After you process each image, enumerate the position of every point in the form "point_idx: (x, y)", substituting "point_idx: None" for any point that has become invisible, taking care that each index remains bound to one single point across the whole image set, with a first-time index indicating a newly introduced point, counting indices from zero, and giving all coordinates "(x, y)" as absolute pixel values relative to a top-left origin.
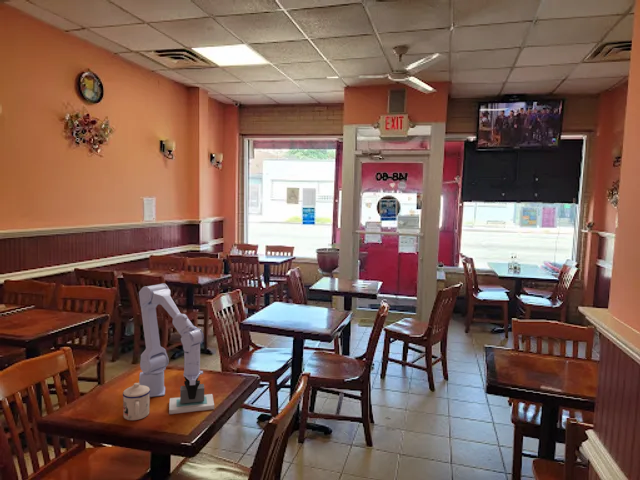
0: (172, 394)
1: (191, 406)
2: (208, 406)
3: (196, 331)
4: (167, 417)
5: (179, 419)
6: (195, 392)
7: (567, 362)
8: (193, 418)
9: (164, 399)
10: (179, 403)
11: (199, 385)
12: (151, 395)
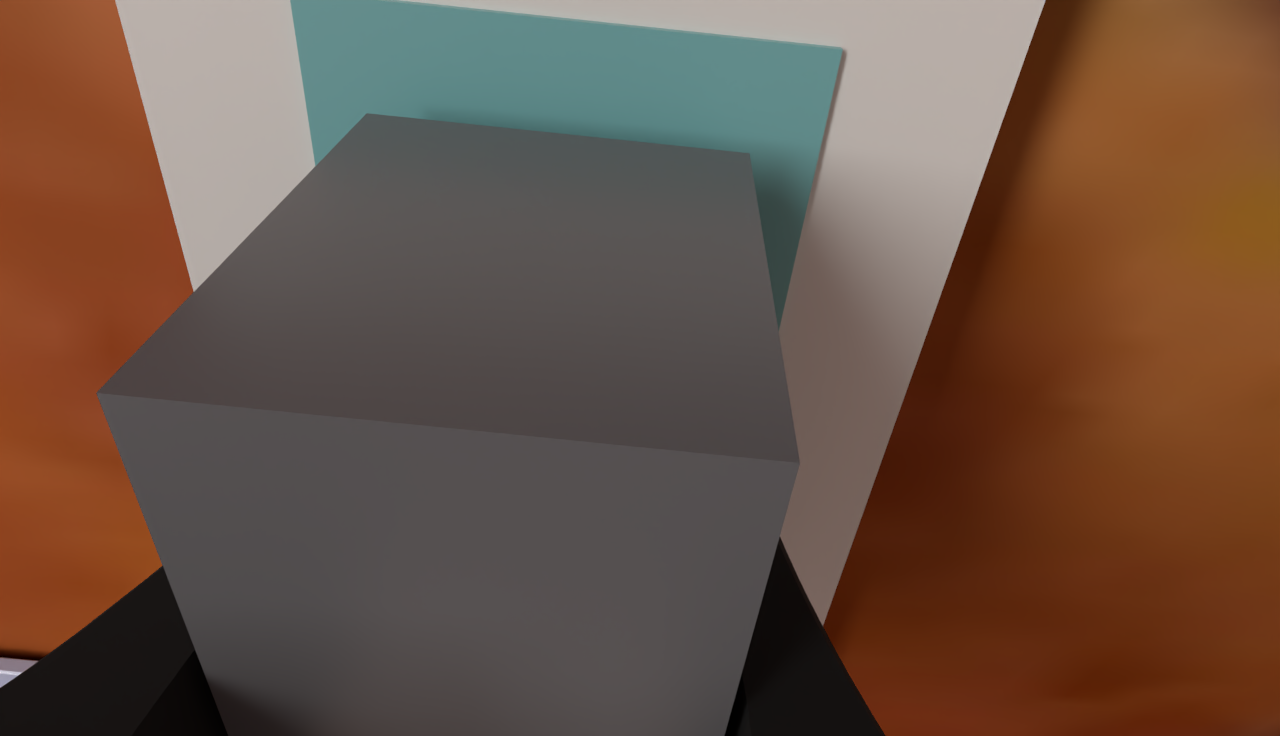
0: (4, 567)
1: (818, 446)
2: (1025, 25)
3: None
4: (873, 690)
5: (1054, 584)
6: (827, 671)
7: None
8: (1197, 397)
9: None
10: None
11: (340, 594)
12: None
